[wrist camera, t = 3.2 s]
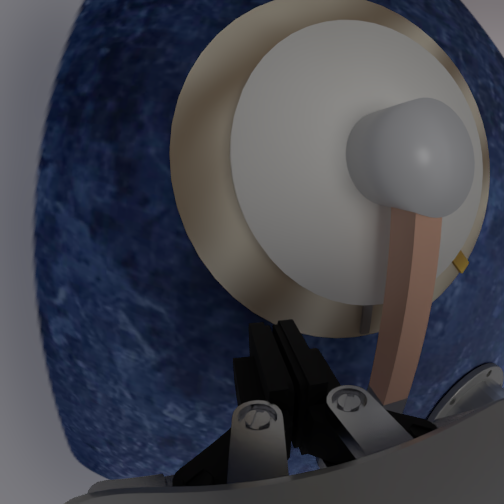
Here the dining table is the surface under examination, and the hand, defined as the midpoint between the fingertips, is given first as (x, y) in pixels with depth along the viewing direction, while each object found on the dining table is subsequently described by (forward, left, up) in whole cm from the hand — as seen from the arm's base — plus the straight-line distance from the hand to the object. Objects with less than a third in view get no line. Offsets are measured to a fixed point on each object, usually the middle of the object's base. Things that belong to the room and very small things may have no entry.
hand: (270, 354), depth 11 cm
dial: (-3, -8, -5) cm, 10 cm away
